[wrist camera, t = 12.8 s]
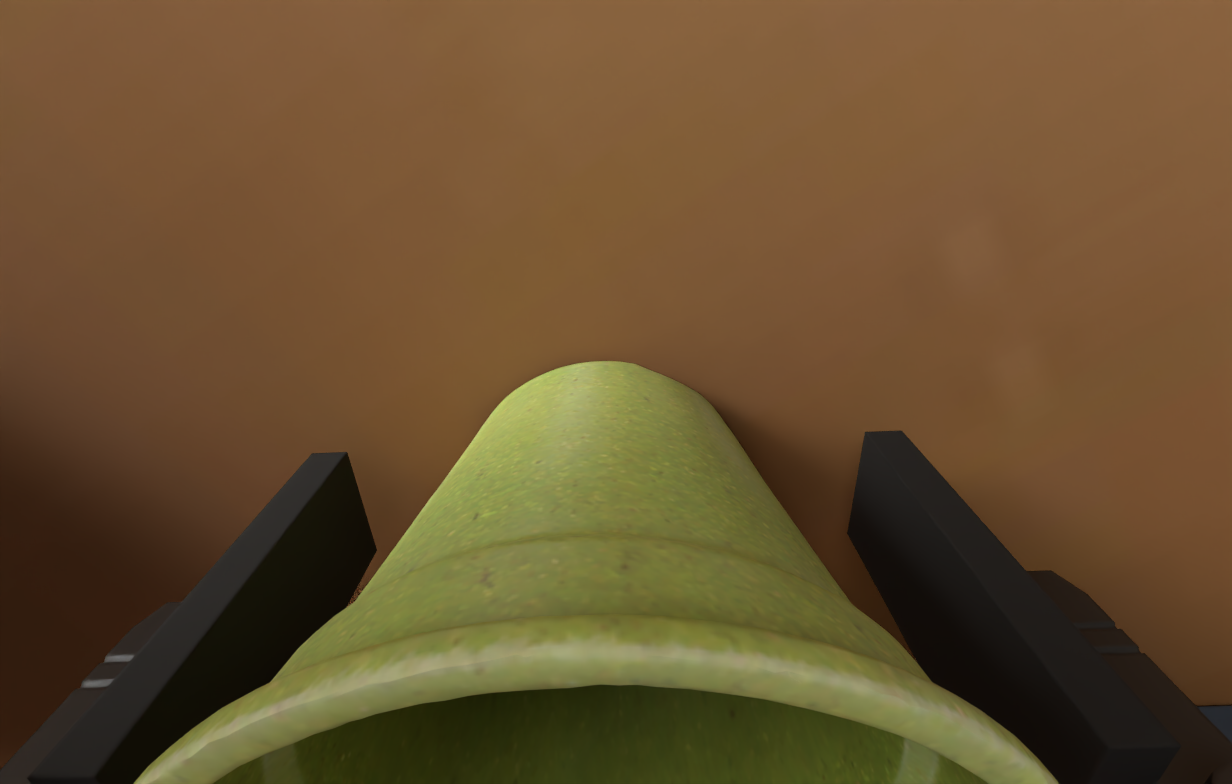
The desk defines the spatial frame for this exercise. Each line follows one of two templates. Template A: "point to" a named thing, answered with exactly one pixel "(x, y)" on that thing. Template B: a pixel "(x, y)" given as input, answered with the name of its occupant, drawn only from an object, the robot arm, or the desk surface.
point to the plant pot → (601, 629)
